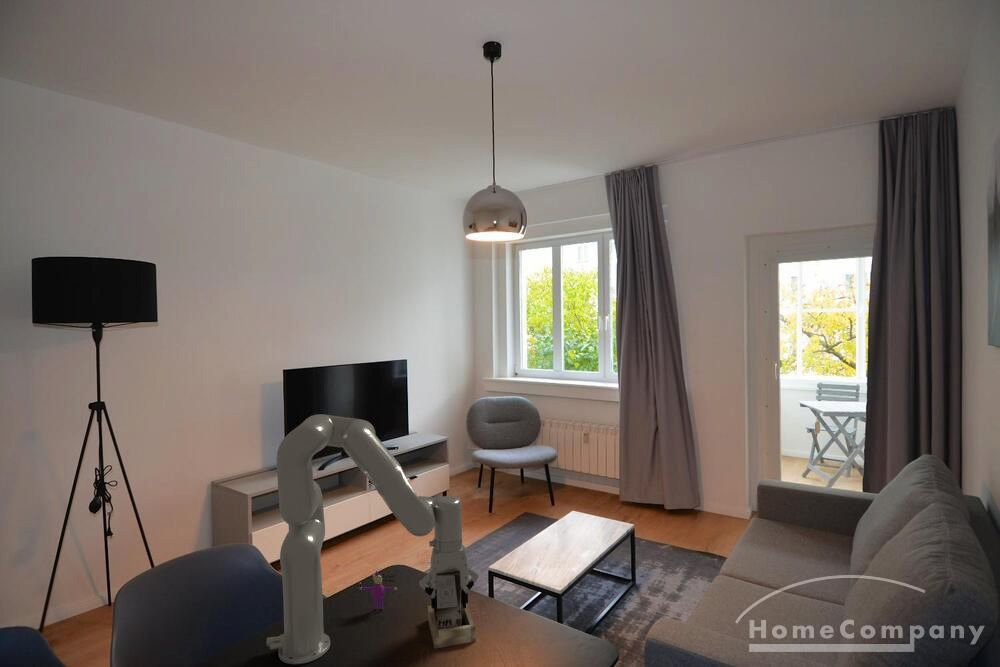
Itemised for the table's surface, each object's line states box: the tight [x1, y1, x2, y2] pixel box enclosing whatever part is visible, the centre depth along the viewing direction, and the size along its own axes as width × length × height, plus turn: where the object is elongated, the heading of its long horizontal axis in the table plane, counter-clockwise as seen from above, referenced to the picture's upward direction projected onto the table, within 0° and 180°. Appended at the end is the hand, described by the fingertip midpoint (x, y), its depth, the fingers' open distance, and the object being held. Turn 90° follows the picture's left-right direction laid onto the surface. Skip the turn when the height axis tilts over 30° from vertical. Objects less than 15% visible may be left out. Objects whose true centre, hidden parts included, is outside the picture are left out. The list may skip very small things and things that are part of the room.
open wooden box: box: [427, 603, 477, 649], centre depth 147 cm, size 11×14×4 cm
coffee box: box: [436, 571, 463, 630], centre depth 146 cm, size 9×6×16 cm
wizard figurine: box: [359, 570, 398, 611], centre depth 157 cm, size 11×3×12 cm, turn 85°
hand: (449, 607), depth 146 cm, fingers closed on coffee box, 7 cm apart
